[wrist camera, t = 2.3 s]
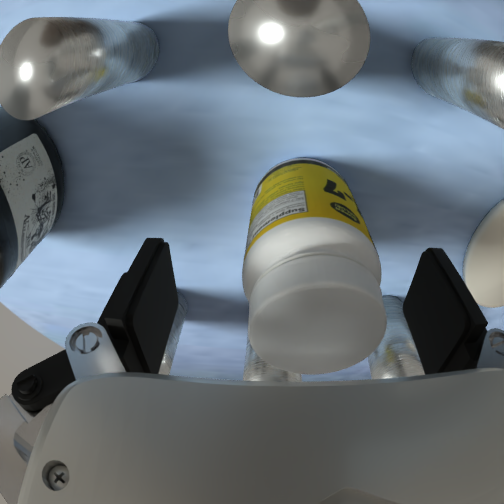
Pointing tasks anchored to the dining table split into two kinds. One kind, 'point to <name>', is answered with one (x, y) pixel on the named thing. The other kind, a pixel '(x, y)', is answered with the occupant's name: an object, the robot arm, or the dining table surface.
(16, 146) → the ink bottle
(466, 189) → the dining table surface
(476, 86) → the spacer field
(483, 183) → the dining table surface
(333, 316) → the supplement bottle
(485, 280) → the coaster
